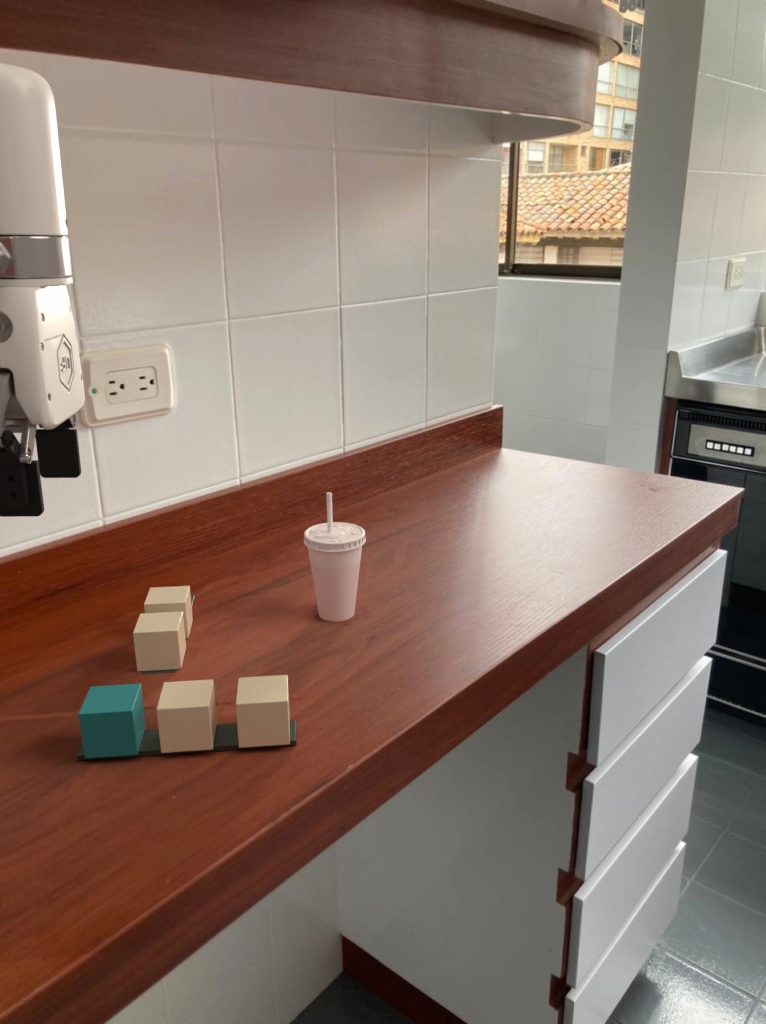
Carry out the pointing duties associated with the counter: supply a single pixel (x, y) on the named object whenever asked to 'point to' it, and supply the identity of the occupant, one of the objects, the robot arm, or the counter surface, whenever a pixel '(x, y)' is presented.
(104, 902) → the counter surface
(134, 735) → the teal rectangular block
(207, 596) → the counter surface
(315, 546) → the smoothie
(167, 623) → the beige double cube
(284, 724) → the dark strip with cubes
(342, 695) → the counter surface
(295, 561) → the counter surface
